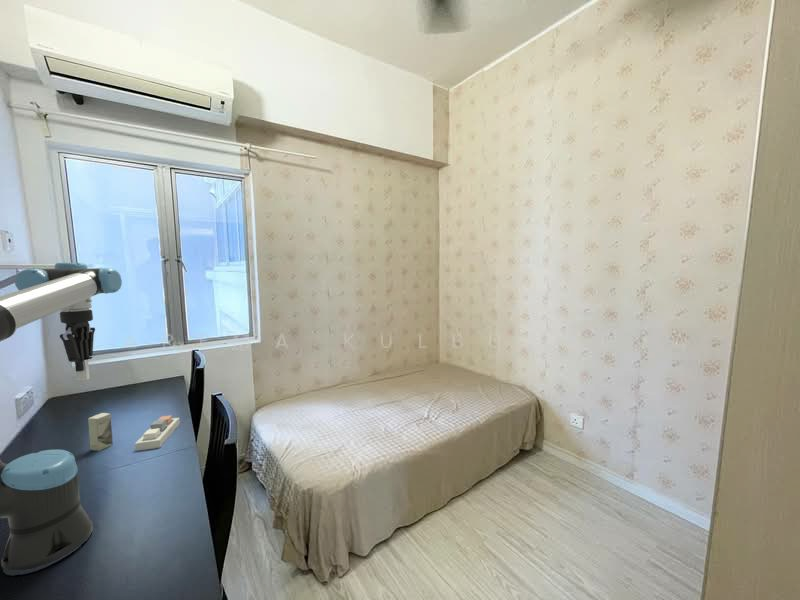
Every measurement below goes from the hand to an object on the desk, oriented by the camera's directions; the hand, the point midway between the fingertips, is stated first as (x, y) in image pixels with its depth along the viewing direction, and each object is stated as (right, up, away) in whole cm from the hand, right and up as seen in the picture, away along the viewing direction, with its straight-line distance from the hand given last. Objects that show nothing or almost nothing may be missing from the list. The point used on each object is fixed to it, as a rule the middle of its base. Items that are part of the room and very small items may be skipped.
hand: (83, 379), depth 106 cm
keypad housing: (+6, -30, +25) cm, 40 cm away
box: (-10, -31, +18) cm, 37 cm away
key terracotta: (+5, -28, +31) cm, 42 cm away
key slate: (+6, -27, +25) cm, 38 cm away
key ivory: (+8, -29, +19) cm, 36 cm away
